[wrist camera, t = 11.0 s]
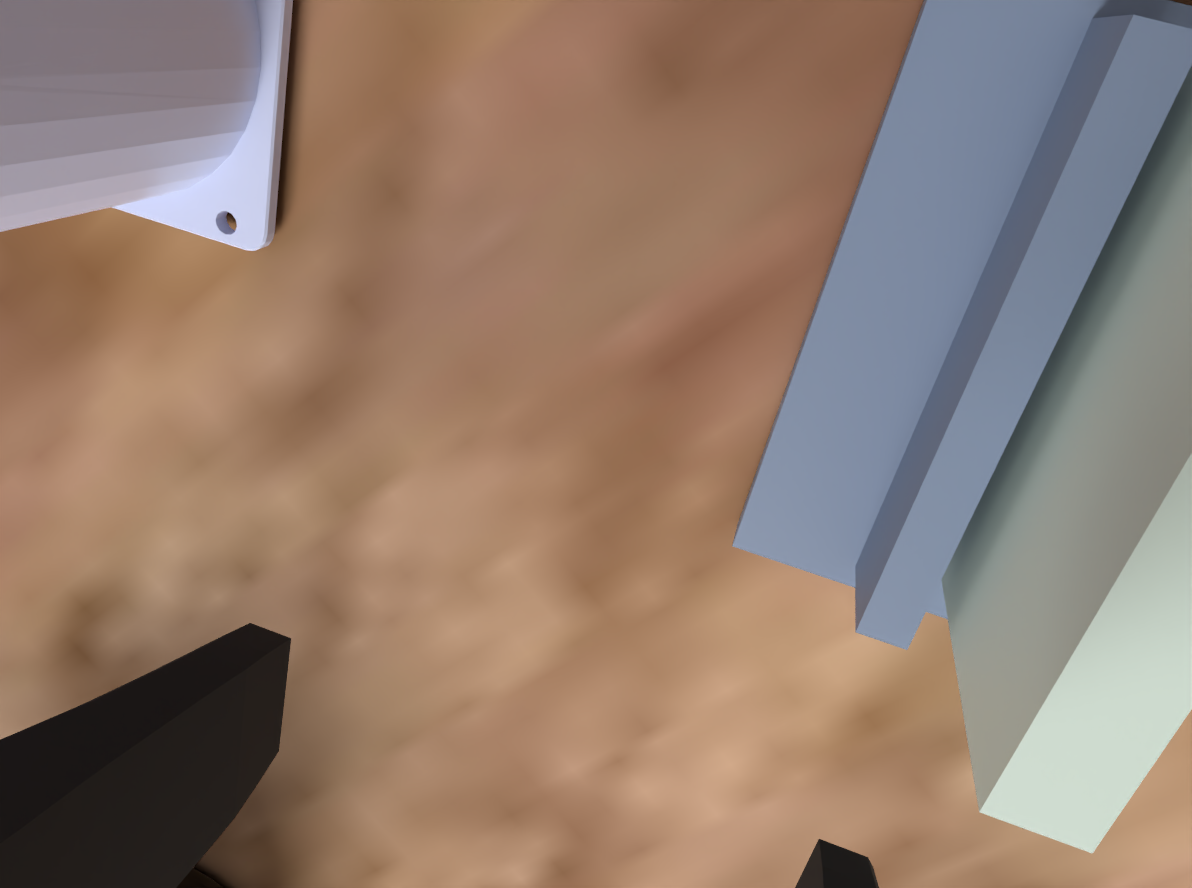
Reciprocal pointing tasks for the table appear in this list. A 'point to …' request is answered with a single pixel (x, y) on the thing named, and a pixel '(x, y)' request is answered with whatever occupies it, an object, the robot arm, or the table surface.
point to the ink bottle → (197, 881)
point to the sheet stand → (956, 284)
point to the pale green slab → (1090, 537)
